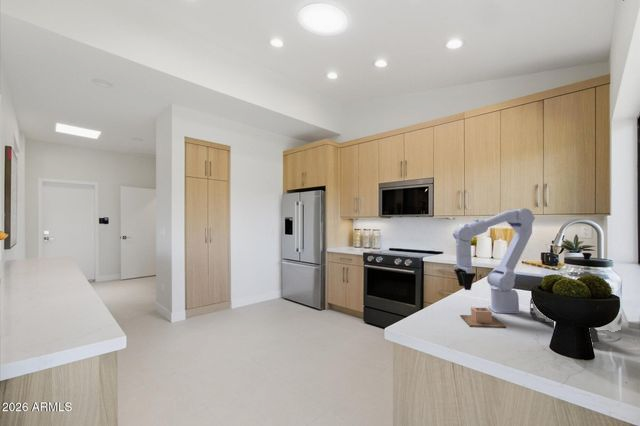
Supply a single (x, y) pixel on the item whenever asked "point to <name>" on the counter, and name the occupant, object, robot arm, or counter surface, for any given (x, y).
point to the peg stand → (472, 323)
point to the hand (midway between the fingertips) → (464, 287)
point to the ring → (481, 315)
